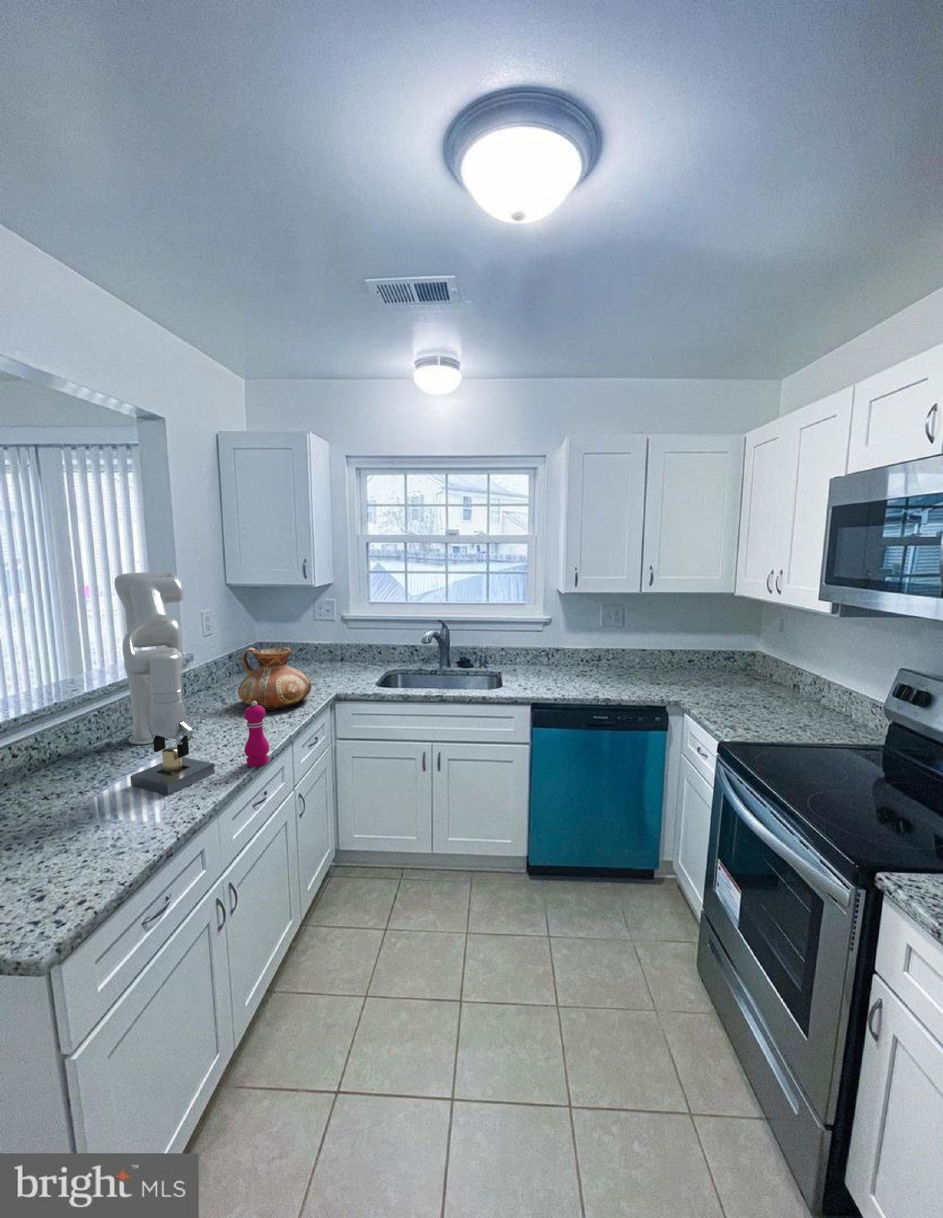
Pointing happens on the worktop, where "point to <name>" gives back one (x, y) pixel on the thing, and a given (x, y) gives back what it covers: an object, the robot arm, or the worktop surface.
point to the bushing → (171, 761)
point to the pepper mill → (256, 736)
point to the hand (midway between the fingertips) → (171, 753)
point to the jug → (273, 680)
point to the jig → (168, 784)
